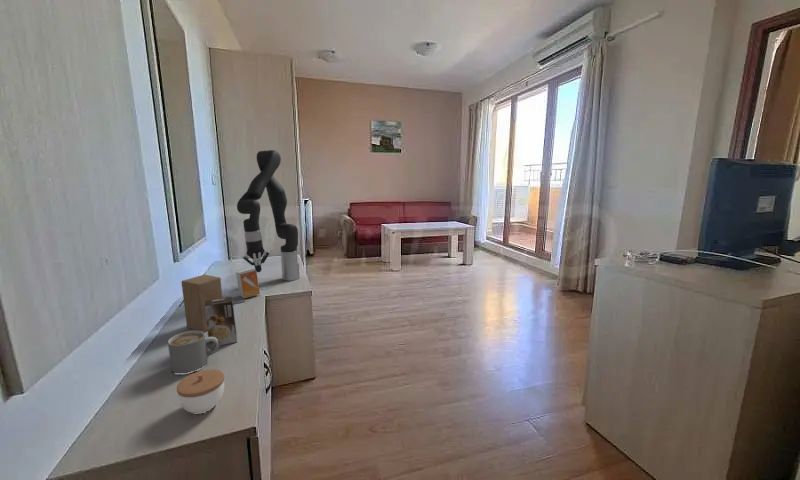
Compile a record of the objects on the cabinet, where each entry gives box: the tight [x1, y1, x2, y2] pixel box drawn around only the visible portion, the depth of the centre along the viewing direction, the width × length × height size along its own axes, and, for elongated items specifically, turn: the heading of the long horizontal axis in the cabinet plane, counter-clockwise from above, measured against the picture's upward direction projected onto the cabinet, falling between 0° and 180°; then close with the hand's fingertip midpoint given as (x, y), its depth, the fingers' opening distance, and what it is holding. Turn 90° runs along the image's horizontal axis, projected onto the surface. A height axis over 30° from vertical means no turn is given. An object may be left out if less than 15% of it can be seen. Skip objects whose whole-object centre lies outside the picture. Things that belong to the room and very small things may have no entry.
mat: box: [222, 292, 246, 305], centre depth 161 cm, size 18×14×1 cm
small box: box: [235, 267, 261, 300], centre depth 167 cm, size 8×6×13 cm
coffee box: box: [205, 297, 238, 348], centre depth 121 cm, size 9×6×16 cm
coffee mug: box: [167, 330, 220, 373], centre depth 106 cm, size 13×10×10 cm
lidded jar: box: [176, 368, 225, 414], centre depth 87 cm, size 11×11×9 cm
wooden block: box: [181, 274, 223, 333], centre depth 133 cm, size 10×10×20 cm
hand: (258, 271), depth 169 cm, fingers closed
